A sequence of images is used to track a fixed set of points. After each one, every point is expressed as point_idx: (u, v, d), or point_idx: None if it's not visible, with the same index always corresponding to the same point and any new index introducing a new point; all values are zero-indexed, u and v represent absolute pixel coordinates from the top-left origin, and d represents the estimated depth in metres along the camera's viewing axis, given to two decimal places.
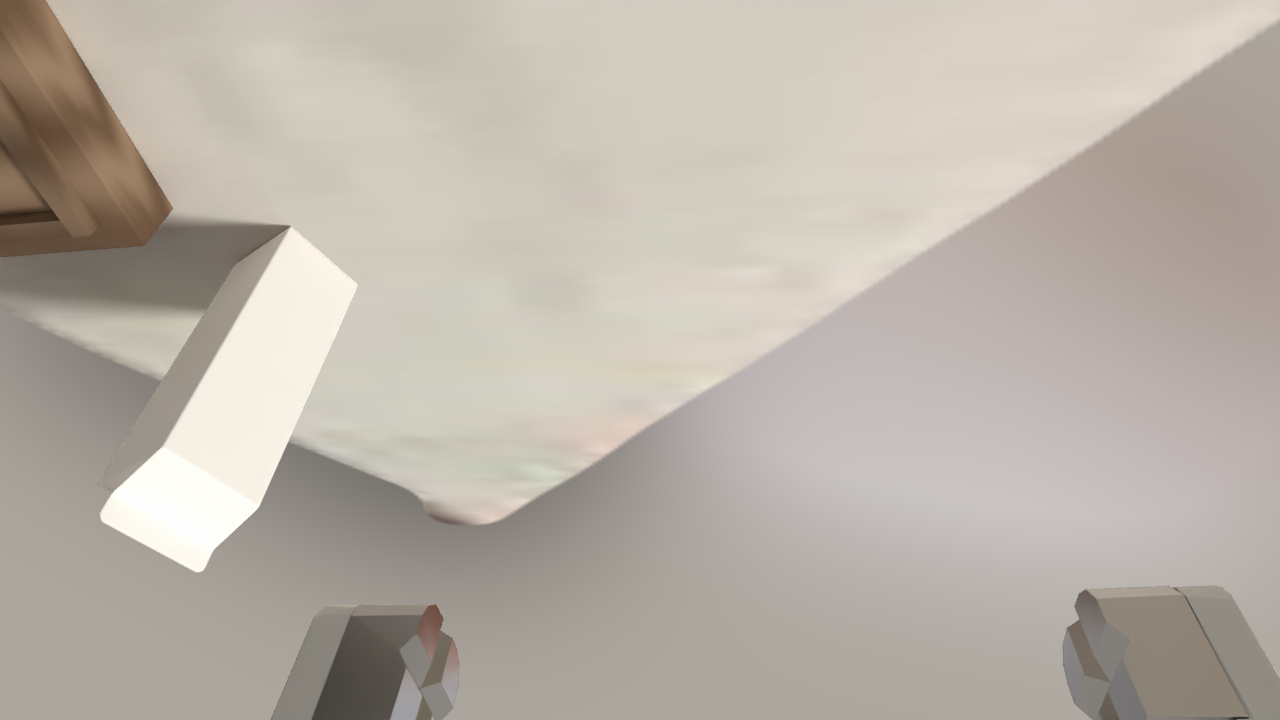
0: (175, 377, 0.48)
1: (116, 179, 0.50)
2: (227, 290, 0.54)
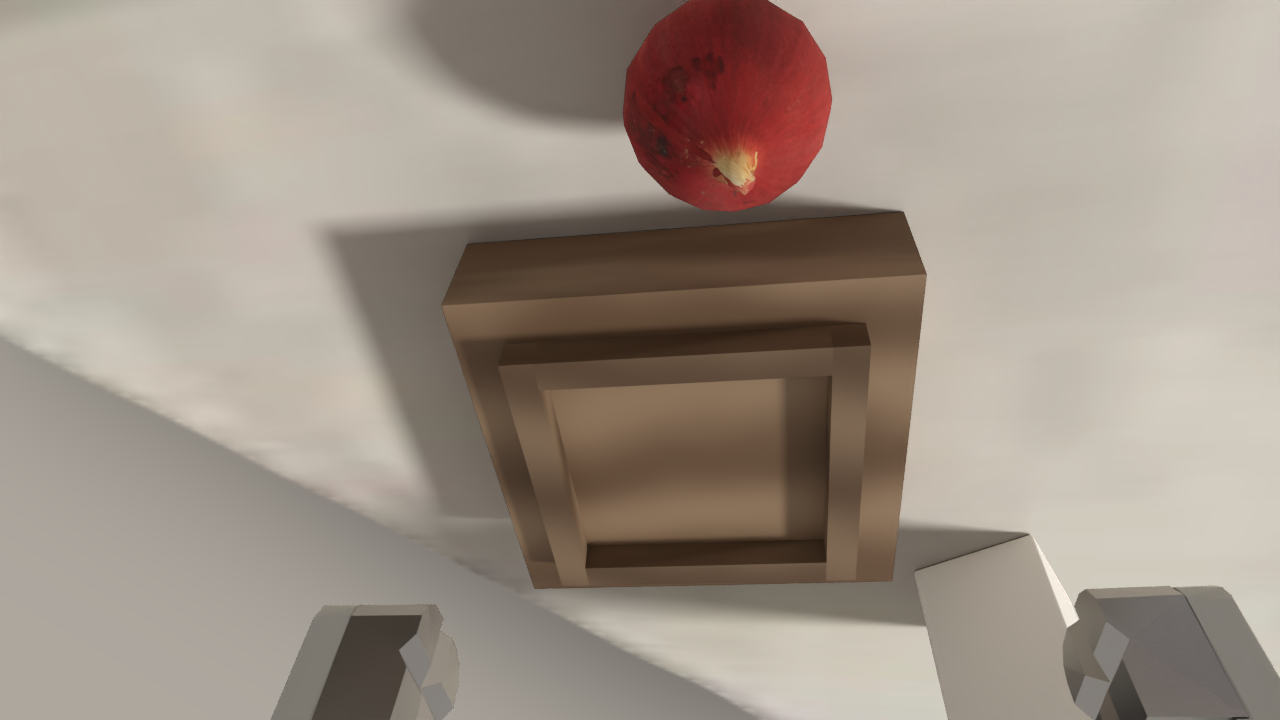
0: None
1: None
2: (964, 630, 0.39)
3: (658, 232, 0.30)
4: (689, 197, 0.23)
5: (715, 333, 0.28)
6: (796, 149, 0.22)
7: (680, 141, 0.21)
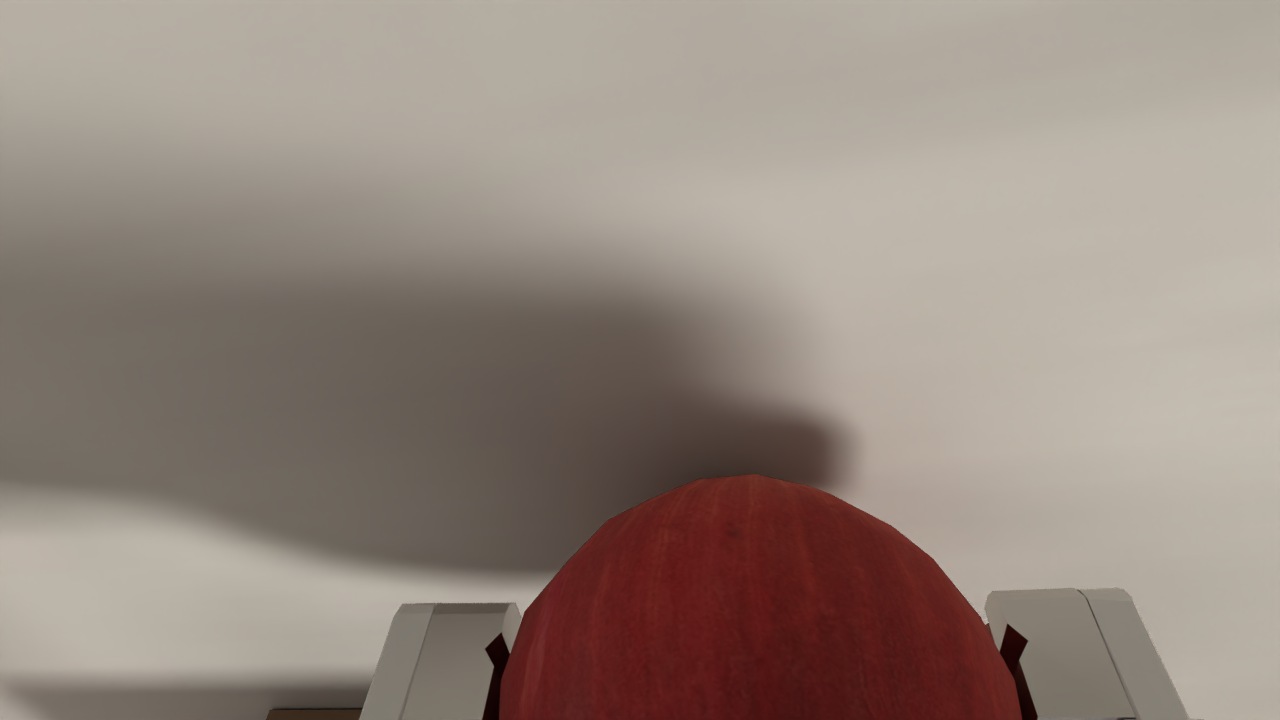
0: None
1: None
2: None
3: None
4: None
5: None
6: None
7: None
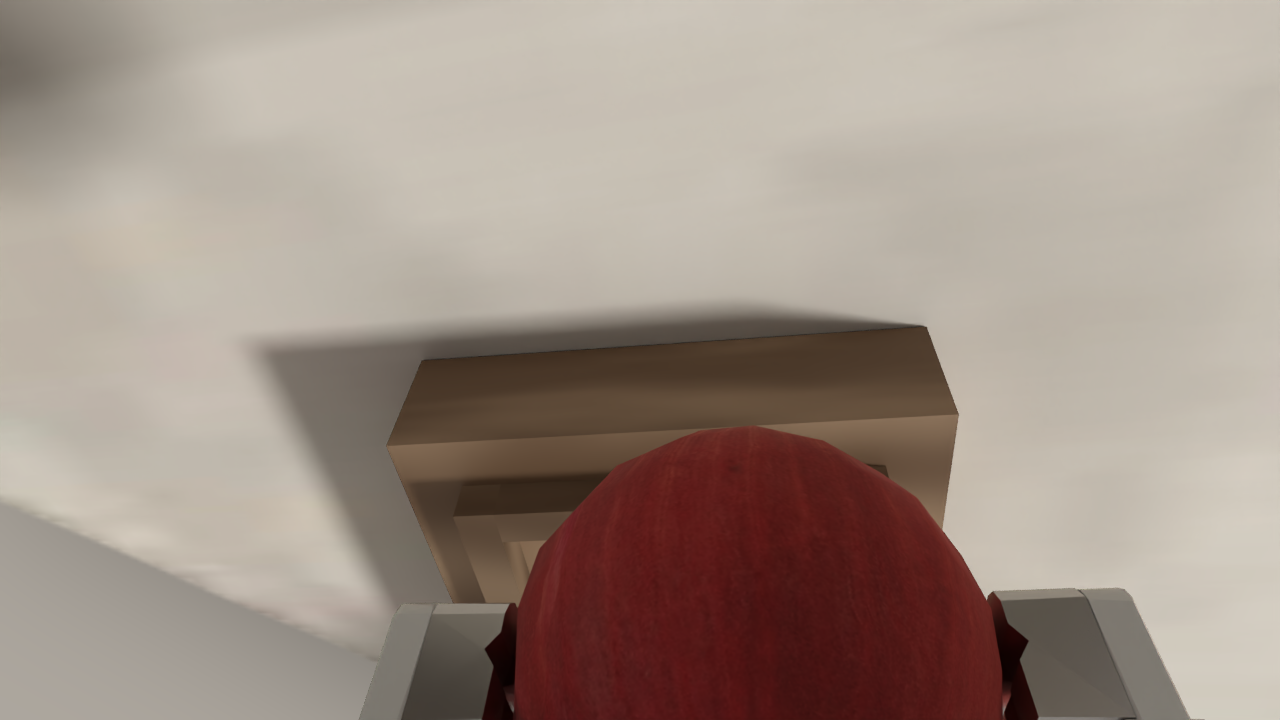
0: None
1: None
2: None
3: (642, 349, 0.26)
4: None
5: None
6: None
7: None
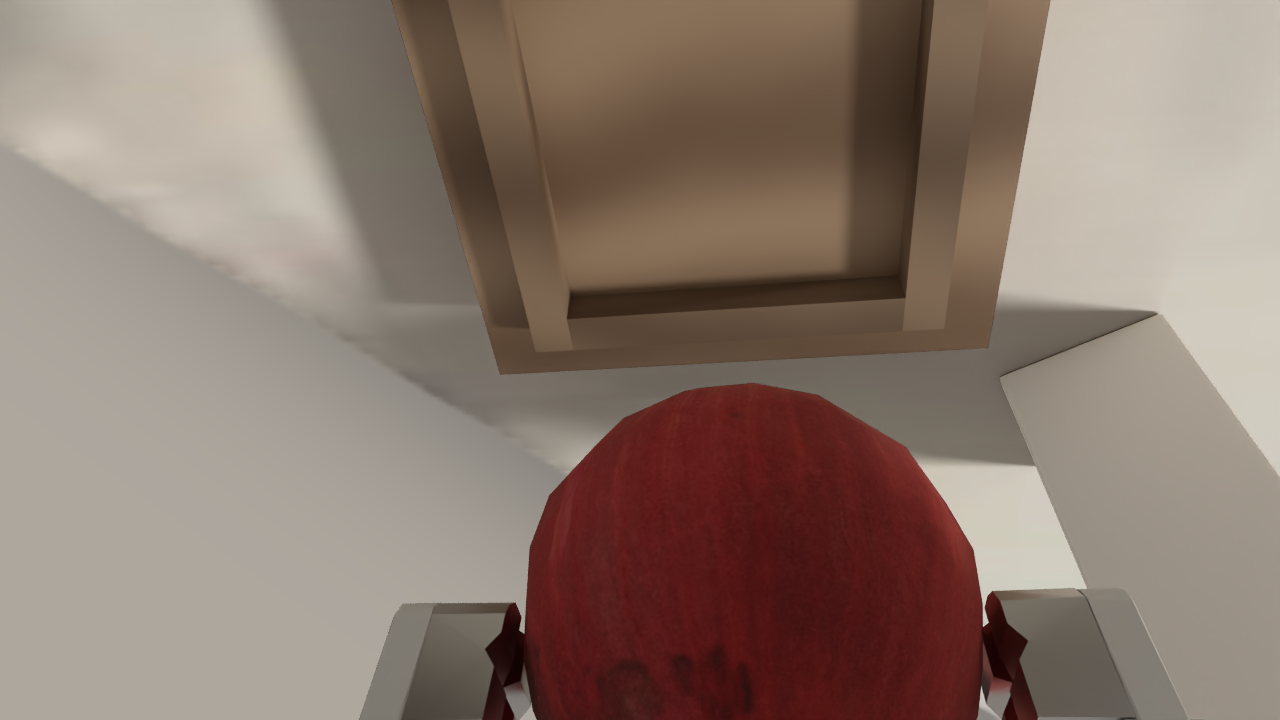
0: (1193, 635, 0.22)
1: None
2: (1078, 431, 0.29)
3: None
4: None
5: None
6: None
7: None
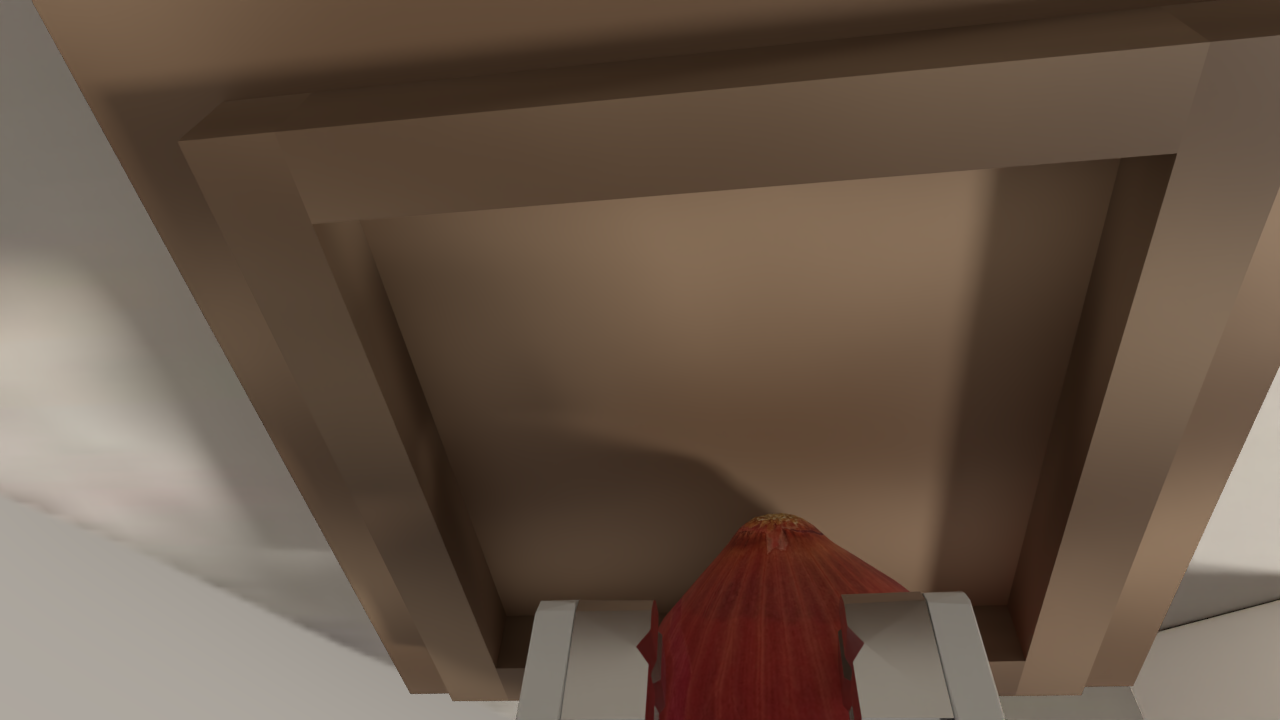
0: None
1: None
2: None
3: None
4: None
5: (813, 47, 0.10)
6: None
7: None
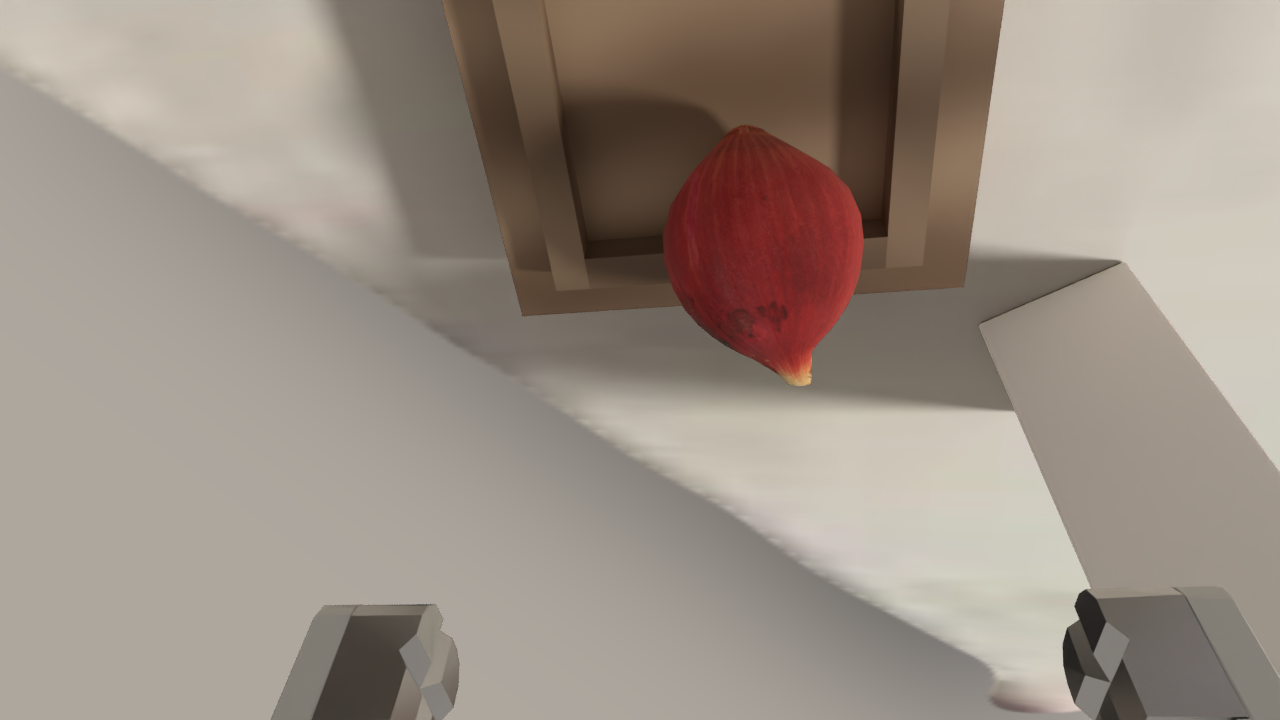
0: (1143, 530, 0.25)
1: None
2: (1048, 366, 0.32)
3: None
4: None
5: None
6: None
7: (745, 353, 0.24)
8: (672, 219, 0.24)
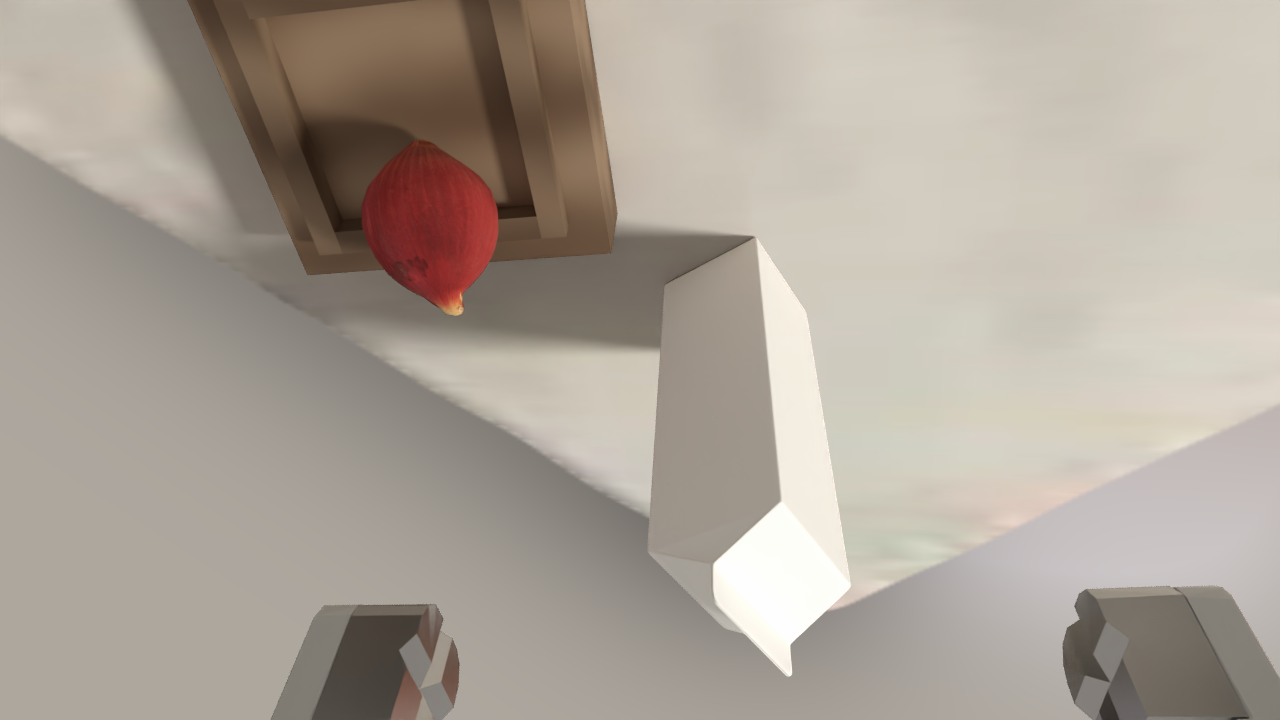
0: (691, 414, 0.37)
1: (601, 168, 0.40)
2: (688, 312, 0.44)
3: None
4: None
5: None
6: (482, 269, 0.37)
7: (414, 292, 0.36)
8: (362, 203, 0.36)
